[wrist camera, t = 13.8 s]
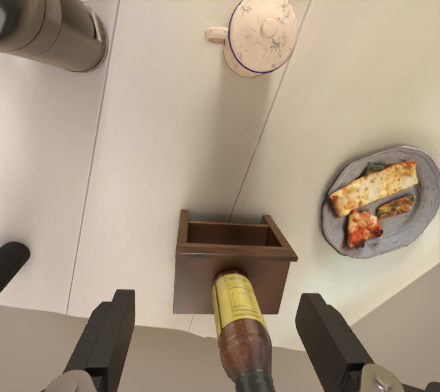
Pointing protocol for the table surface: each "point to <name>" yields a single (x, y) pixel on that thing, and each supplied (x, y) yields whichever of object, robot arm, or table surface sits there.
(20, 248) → the drinking cup
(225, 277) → the sauce bottle
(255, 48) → the teacup with lid
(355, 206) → the food plate
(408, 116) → the table surface
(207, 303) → the shelf
